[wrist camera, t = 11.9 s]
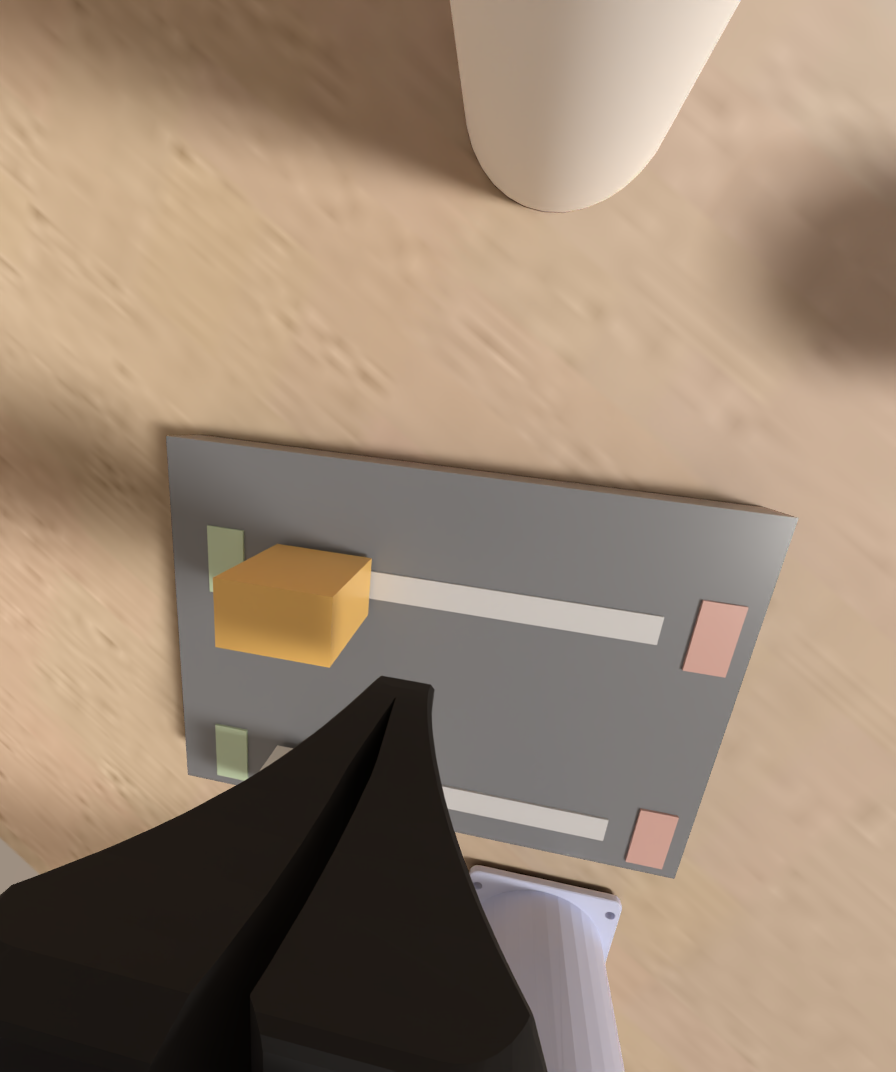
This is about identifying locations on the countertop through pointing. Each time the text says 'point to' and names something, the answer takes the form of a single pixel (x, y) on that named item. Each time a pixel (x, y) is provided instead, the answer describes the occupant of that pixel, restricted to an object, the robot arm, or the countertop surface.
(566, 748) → the gray slider board
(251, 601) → the orange rectangular block
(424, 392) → the countertop surface
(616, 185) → the cylindrical container
